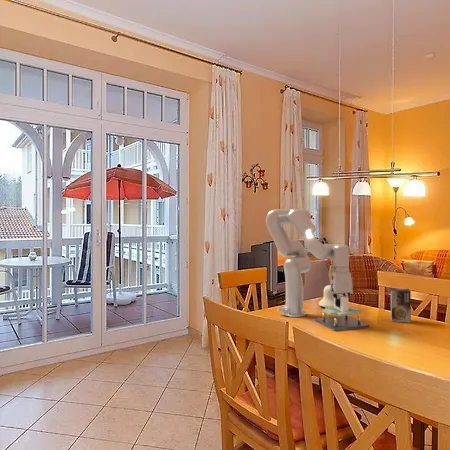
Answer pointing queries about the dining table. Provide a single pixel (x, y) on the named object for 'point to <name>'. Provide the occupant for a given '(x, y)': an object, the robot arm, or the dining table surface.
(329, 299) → the handbell
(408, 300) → the coffee box
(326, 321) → the plate
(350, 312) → the board
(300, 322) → the dining table surface
